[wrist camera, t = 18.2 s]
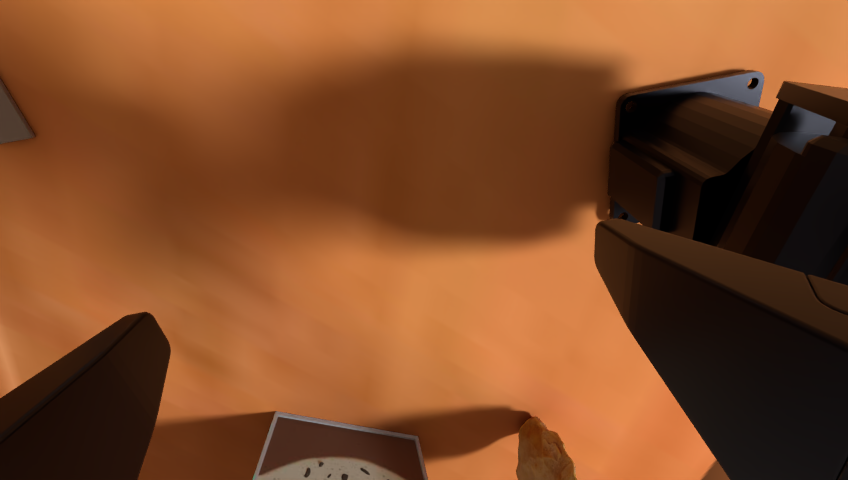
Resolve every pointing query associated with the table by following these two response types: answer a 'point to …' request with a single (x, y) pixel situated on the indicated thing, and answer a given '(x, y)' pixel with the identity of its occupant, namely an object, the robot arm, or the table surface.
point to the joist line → (11, 119)
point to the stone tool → (542, 454)
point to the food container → (336, 452)
